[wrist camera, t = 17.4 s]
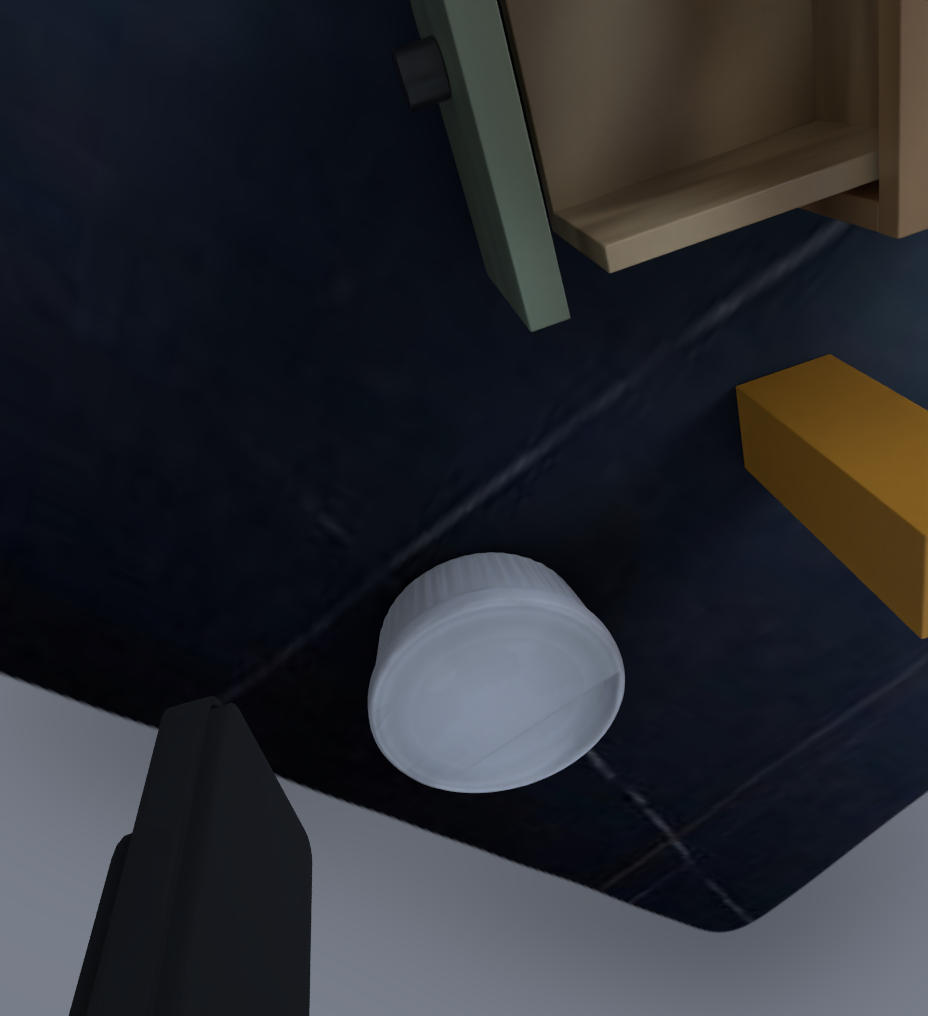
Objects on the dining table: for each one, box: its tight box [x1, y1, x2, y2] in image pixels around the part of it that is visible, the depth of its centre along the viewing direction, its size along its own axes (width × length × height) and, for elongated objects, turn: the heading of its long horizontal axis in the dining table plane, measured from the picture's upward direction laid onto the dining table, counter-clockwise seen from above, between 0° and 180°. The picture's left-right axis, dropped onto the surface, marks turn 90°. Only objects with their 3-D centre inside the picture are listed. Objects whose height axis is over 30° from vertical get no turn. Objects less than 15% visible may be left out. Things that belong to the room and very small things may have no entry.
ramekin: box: [368, 552, 625, 793], centre depth 34 cm, size 11×11×5 cm
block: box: [736, 354, 928, 639], centre depth 28 cm, size 4×4×12 cm
